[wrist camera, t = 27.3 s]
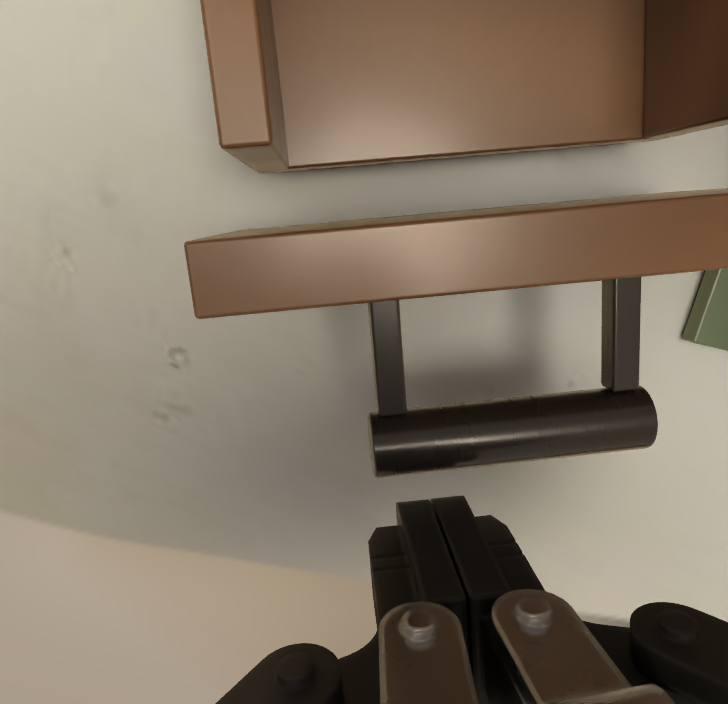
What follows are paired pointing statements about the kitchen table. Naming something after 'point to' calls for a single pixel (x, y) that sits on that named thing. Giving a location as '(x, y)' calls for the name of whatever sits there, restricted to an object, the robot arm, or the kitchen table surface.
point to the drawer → (468, 227)
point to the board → (710, 311)
